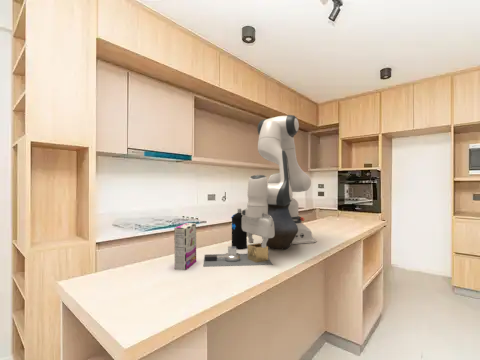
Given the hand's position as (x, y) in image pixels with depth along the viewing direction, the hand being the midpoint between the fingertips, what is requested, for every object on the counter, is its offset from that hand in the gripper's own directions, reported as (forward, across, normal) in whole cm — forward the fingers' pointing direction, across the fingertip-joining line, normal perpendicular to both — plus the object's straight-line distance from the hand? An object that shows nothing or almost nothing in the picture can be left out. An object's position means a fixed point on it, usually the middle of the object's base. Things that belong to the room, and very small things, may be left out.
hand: (256, 245), depth 112 cm
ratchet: (+6, +7, +13) cm, 16 cm away
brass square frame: (+6, 0, -1) cm, 6 cm away
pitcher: (+6, +14, -21) cm, 26 cm away
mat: (+7, +5, +7) cm, 11 cm away
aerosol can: (+7, +22, -4) cm, 23 cm away
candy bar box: (+7, +8, +29) cm, 31 cm away
